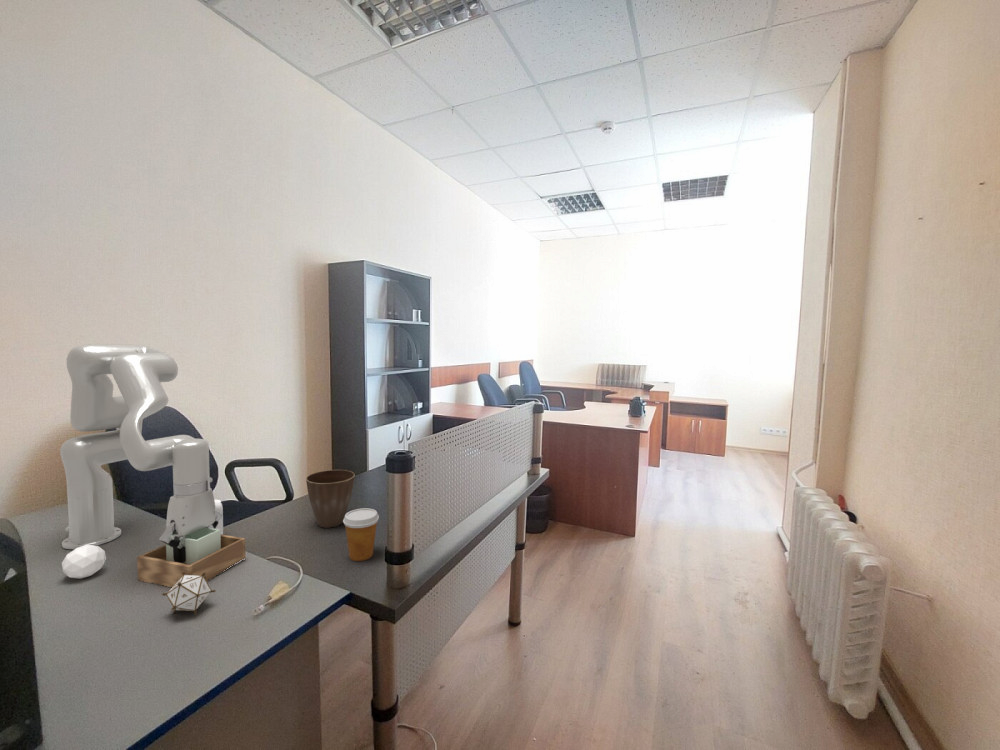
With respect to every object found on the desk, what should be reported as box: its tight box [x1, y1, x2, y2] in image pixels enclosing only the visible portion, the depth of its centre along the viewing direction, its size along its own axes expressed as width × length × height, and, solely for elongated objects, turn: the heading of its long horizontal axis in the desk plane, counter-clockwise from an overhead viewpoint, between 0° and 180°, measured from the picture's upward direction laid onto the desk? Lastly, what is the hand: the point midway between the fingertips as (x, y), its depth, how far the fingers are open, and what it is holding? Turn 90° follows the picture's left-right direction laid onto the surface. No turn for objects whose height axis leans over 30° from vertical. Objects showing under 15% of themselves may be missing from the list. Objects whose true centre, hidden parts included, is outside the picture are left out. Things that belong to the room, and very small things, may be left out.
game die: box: [161, 572, 217, 615], centre depth 91 cm, size 9×8×10 cm
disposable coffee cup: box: [342, 507, 380, 562], centre depth 116 cm, size 10×10×12 cm
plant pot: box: [305, 469, 356, 529], centre depth 137 cm, size 15×15×16 cm
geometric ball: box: [61, 544, 107, 580], centre depth 104 cm, size 8×8×8 cm
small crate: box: [165, 527, 221, 565], centre depth 108 cm, size 10×7×7 cm, turn 75°
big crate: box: [136, 534, 246, 588], centre depth 108 cm, size 17×16×6 cm
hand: (193, 554), depth 108 cm, fingers closed on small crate, 6 cm apart
